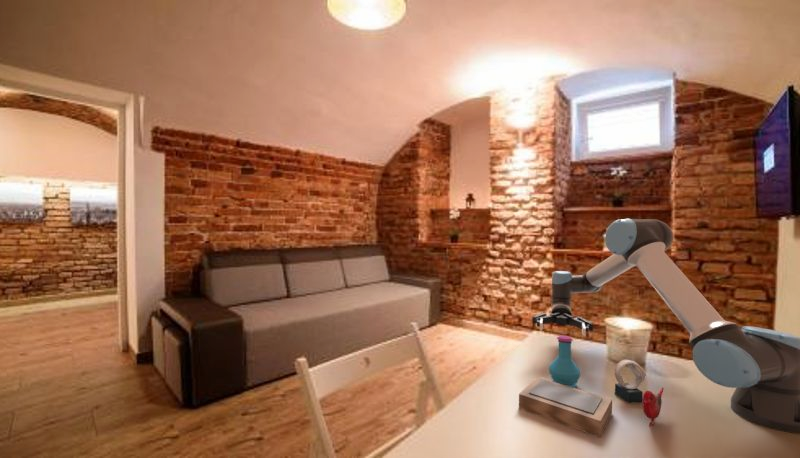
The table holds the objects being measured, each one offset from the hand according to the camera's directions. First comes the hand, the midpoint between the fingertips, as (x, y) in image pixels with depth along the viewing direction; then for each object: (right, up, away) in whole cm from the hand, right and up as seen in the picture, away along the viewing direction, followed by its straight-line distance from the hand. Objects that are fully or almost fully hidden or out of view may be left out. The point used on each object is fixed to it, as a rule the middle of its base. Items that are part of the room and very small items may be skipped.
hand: (562, 329), depth 121 cm
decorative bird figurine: (+10, -16, -30) cm, 35 cm away
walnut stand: (-11, -15, -25) cm, 31 cm away
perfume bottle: (-3, -15, -9) cm, 18 cm away
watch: (+11, -15, -18) cm, 26 cm away
